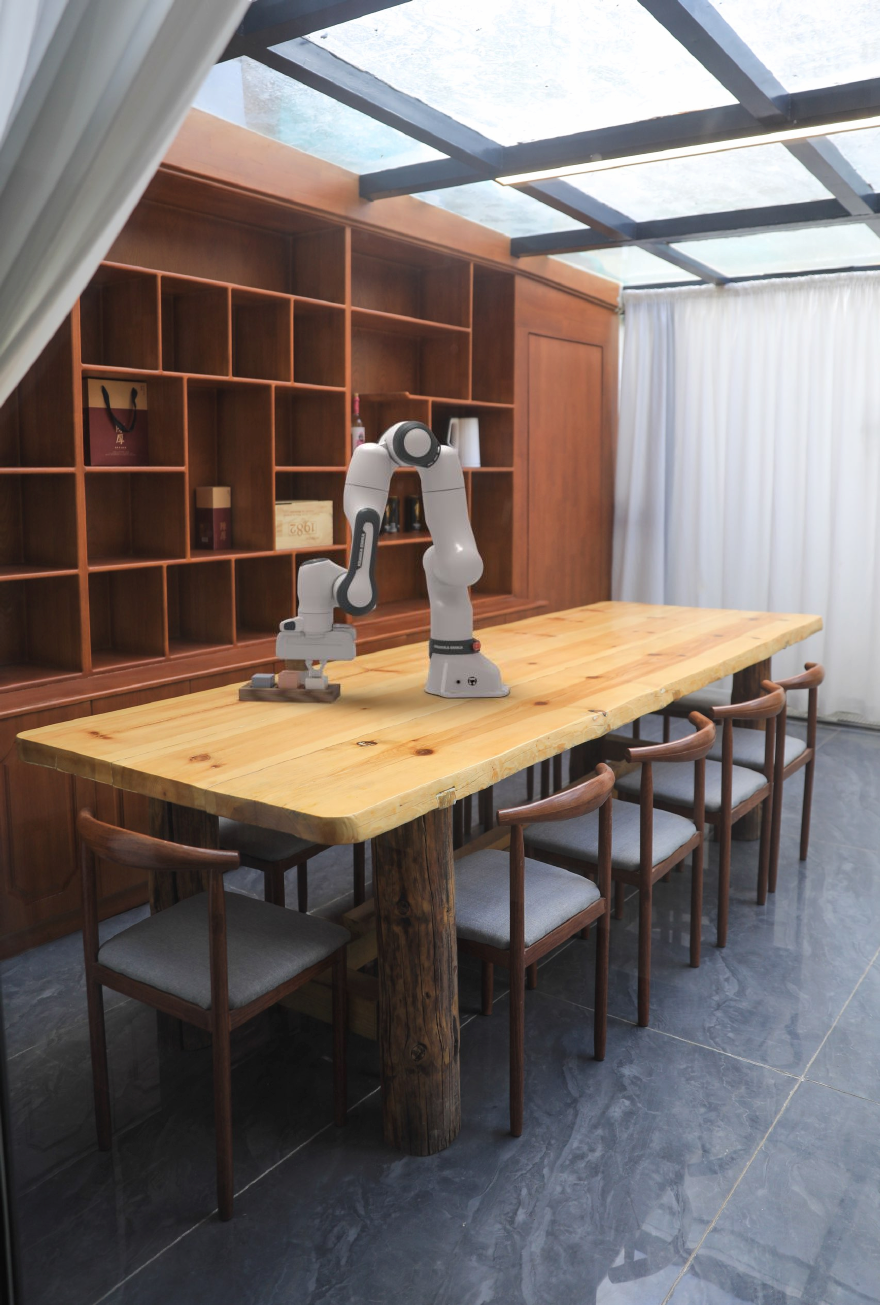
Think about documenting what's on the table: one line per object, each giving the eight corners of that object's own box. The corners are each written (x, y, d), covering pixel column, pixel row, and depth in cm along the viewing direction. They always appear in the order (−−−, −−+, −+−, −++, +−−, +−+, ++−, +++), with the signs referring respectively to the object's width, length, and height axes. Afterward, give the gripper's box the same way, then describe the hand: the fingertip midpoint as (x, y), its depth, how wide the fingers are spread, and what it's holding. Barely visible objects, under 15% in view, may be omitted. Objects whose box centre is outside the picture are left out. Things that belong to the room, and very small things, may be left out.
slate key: (275, 689, 263) (274, 674, 262) (270, 693, 258) (269, 677, 258) (257, 688, 264) (256, 673, 263) (251, 692, 259) (251, 677, 258)
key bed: (340, 694, 264) (340, 683, 264) (332, 703, 254) (332, 691, 254) (250, 692, 267) (250, 681, 266) (238, 700, 257) (238, 688, 256)
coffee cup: (307, 685, 276) (306, 631, 273) (278, 684, 277) (277, 630, 275) (317, 680, 284) (316, 626, 281) (288, 678, 285) (287, 625, 283)
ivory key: (328, 690, 262) (328, 675, 261) (324, 694, 257) (324, 679, 256) (310, 690, 262) (309, 675, 261) (305, 694, 257) (305, 678, 257)
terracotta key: (301, 686, 262) (301, 670, 262) (297, 689, 257) (296, 674, 257) (283, 685, 263) (283, 670, 262) (278, 689, 258) (278, 673, 257)
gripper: (358, 622, 258) (359, 675, 261) (280, 620, 261) (281, 673, 263) (353, 625, 252) (354, 680, 255) (273, 623, 254) (274, 678, 257)
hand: (316, 677), depth 259 cm, fingers closed, pressing on ivory key
